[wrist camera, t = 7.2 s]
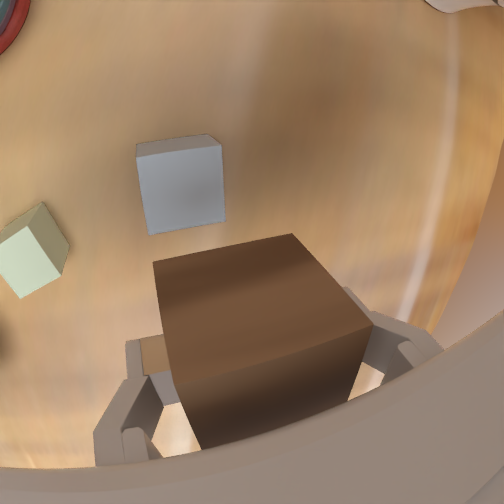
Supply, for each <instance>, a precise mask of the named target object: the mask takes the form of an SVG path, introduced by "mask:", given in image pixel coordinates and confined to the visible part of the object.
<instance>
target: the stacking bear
mask: <svg viewBox="0 0 504 504" xmlns="http://www.w3.org/2000/svg"><path fill="white" fill-rule="evenodd" d="M29 4H30V0H0V54H1V53H2V52H3V51H4V50H5V49H6V48H7V47H8V46H9V45H10V44H11V42H12V41H13V40H14V38H15V37H16V36H17V34H18V32H19V31H20V29H21V27H22V25H23V23H24V21H25V18H26V16H27V13H28V9H29Z"/></svg>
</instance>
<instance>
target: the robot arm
mask: <svg viewBox="0 0 504 504" xmlns="http://www.w3.org/2000/svg"><path fill="white" fill-rule="evenodd" d="M425 1H427V2H428V3H429V4H430V5H431V6H433V7H434V8H436V9H438V10H440V11H442V12H445V13H455V12H457V11H460V10H463V9H467V8H472V7H479V6H493V5H499V6H500V7H504V0H425ZM342 288H343V289H344V291H345V292H346V293H347V294H348V295H349V296H350V297H351V298H352V300H353V301H354V302H355V303H356V304H357V305H358V306H359V308H360V309H361V310H362V311H363V312H364V313H365V314H366V315H367V317H368V318H369V319H370V320H371V321H372V322H373V324H374V325H373V329H372V332H371V335H370V338H369V341H368V344H367V347H366V350H365V353H364V356H363V359H362V362H364V363H366V364H368V365H370V366H371V367H373V368H375V369H377V370H379V371H380V372H382V373H384V374H385V376H384V378H383V380H382V382H381V385H380V386H379V387H377V388H375V389H373V390H371V391H369V392H367V393H365V394H362V395H360V396H358V397H356V398H354V399H351V400H349V401H347V402H345V403H342V404H340V405H338V406H335V407H333V408H331V409H328V410H326V411H323V412H321V413H318V414H316V415H313V416H311V417H308V418H305V419H303V420H300V421H297V422H295V423H292V424H289V425H286V426H283V427H281V428H278V429H275V430H272V431H269V432H266V433H262V434H259V435H256V436H253V437H249V438H246V439H243V440H239V441H236V442H232V443H228V444H224V445H221V446H217V447H213V448H209V449H204V450H200V451H196V452H191V453H187V454H182V455H177V456H172V457H166V458H163V456H162V455H161V454H160V452H159V451H158V450H157V448H156V447H155V446H154V444H153V443H152V442H151V440H152V437H153V434H154V432H155V429H156V427H157V424H158V421H159V419H160V416H161V413H162V411H163V408H164V407H163V406H165V405H169V404H174V403H178V402H180V399H179V397H178V394H177V392H176V389H175V387H174V383H173V379H172V374H171V369H170V365H169V360H168V354H167V349H166V344H165V339H164V334H161V335H156V336H151V337H145V338H140V339H136V340H130V341H126V344H125V351H126V365H127V377H128V379H127V380H123V382H122V384H121V385H120V387H119V389H118V390H117V392H116V394H115V395H114V397H113V399H112V400H111V402H110V404H109V406H108V407H107V409H106V411H105V412H104V414H103V416H102V417H101V419H100V421H99V423H98V424H97V426H96V428H95V430H94V431H93V439H94V453H95V464H96V467H85V468H64V469H28V468H8V467H0V504H504V309H503V310H502V311H501V312H500V313H498V314H497V315H495V316H494V317H493V318H491V319H490V320H489V321H487V322H486V323H485V324H483V325H482V326H480V327H479V328H477V329H476V330H475V331H473V332H472V333H470V334H469V335H467V336H466V337H464V338H463V339H461V340H460V341H458V342H457V343H455V344H453V345H452V346H450V347H449V348H447V349H446V350H444V349H443V348H442V347H441V346H440V345H439V344H438V343H437V342H436V340H435V339H434V338H433V337H432V336H431V335H430V334H429V333H428V332H427V331H426V330H424V329H421V328H419V327H416V326H413V325H411V324H408V323H405V322H403V321H400V320H397V319H394V318H392V317H389V316H386V315H384V314H381V313H378V312H376V311H372V312H370V311H369V309H368V308H367V307H366V306H365V305H364V304H363V303H362V302H361V301H360V300H359V299H358V297H357V296H356V295H355V294H354V293H353V292H352V291H351V290H350V289H349V288H348V287H346V286H345V287H342Z"/></svg>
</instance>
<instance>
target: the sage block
mask: <svg viewBox="0 0 504 504" xmlns="http://www.w3.org/2000/svg"><path fill="white" fill-rule="evenodd" d="M69 248H70V245H69V243H68V242H67V240H66V239H65V237H64V236H63V234H62V232H61V231H60V229H59V228H58V226H57V224H56V223H55V221H54V219H53V218H52V216H51V214H50V213H49V211H48V209H47V208H46V206H45V204H44V202H41V203H40V204H38V205H37V206H35V207H33V208H32V209H30V210H29V211H27V212H26V213H24V214H23V215H21V216H20V217H18V218H17V219H15V220H14V221H12V222H11V223H10V224H8V225H7V226H5V227H4V229H3V230H2V232H1V233H0V274H1V275H2V276H3V278H4V279H5V280H6V282H7V283H8V284H9V285H10V287H11V288H12V289H13V291H14V292H15V293H16V294H17V296H18V297H19V298H20V299H21V298H23V297H24V296H26V295H28V294H30V293H31V292H33V291H35V290H37V289H39V288H40V287H42V286H44V285H46V284H47V283H49V282H51V281H53V280H55V279H57V278H58V277H60V276H61V275H62V271H63V268H64V264H65V261H66V258H67V254H68V251H69Z"/></svg>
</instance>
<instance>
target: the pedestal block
mask: <svg viewBox="0 0 504 504" xmlns="http://www.w3.org/2000/svg"><path fill="white" fill-rule="evenodd" d="M136 162H137V169H138V176H139V183H140V189H141V196H142V202H143V208H144V213H145V219H146V224H147V230H148V235H153V234H158V233H164V232H169V231H174V230H180V229H185V228H191V227H196V226H202V225H208V224H213V223H219V222H225V221H226V218H225V201H224V182H223V162H222V145H221V144H220V143H218V142H217V141H216V140H215V139H213V138H212V137H211V136H210V135H208V134H203V135H194V136H186V137H179V138H172V139H165V140H159V141H152V142H146V143H140V144H137V145H136Z"/></svg>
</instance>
